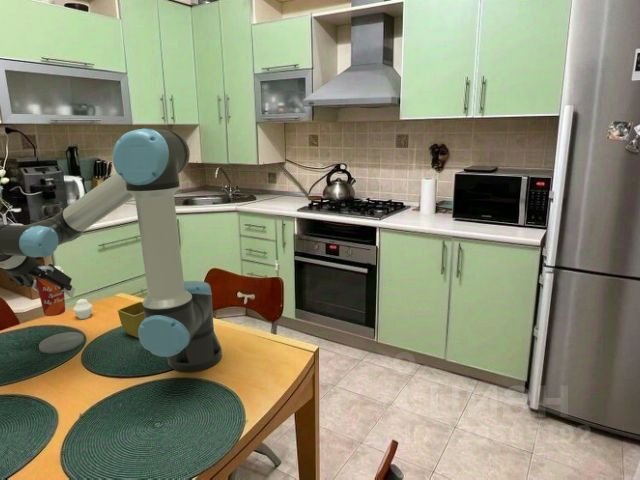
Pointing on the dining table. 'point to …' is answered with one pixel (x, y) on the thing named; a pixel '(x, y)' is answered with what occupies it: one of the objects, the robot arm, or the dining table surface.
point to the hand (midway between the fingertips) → (59, 292)
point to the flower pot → (132, 318)
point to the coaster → (61, 342)
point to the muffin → (83, 309)
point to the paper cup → (51, 297)
